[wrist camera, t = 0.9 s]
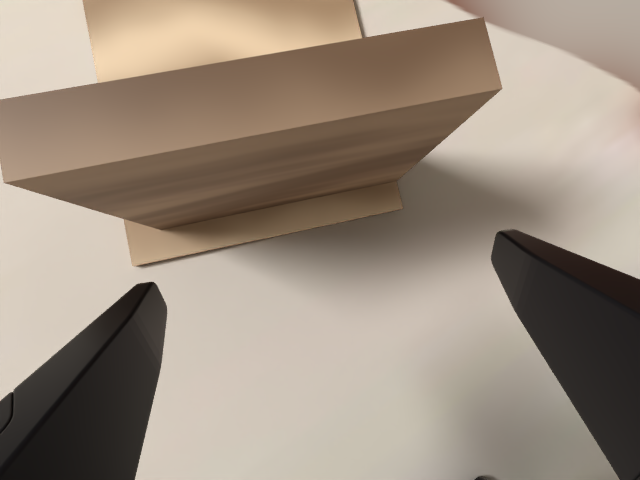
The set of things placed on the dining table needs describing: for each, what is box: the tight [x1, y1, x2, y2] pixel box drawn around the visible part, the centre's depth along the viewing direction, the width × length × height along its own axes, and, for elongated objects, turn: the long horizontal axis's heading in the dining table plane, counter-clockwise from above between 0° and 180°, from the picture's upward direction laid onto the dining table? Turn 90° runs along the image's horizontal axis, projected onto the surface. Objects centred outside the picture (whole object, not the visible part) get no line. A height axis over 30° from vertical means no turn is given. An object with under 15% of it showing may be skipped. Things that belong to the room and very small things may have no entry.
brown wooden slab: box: [0, 17, 502, 230], centre depth 17 cm, size 2×15×12 cm, turn 103°
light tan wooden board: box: [83, 0, 403, 266], centre depth 23 cm, size 18×17×1 cm
